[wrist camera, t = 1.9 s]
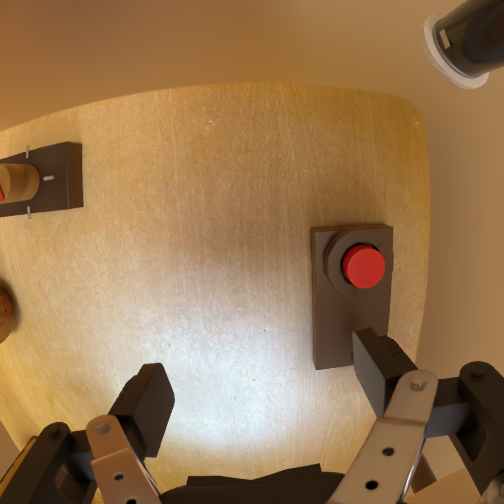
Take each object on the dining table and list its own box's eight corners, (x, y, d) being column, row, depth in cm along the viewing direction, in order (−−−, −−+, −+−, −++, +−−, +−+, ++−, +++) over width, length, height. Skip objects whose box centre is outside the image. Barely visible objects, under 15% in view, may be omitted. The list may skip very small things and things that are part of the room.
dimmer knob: (12, 179, 26) (-19, 180, 21) (31, 156, 25) (0, 155, 20) (24, 207, 27) (-7, 212, 21) (44, 185, 26) (12, 188, 21)
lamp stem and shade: (347, 307, 27) (511, 583, 1) (406, 336, 28) (560, 536, 2) (304, 372, 29) (360, 643, 3) (363, 393, 30) (451, 606, 3)
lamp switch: (341, 245, 27) (347, 249, 25) (378, 243, 26) (385, 247, 25) (342, 284, 27) (347, 290, 26) (377, 280, 27) (384, 286, 25)
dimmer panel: (82, 138, 28) (67, 135, 25) (83, 212, 30) (68, 215, 27) (12, 156, 28) (-4, 155, 25) (14, 219, 30) (-2, 222, 27)
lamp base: (310, 225, 30) (318, 231, 26) (384, 221, 30) (400, 226, 26) (312, 359, 33) (318, 379, 29) (377, 350, 33) (389, 368, 29)
